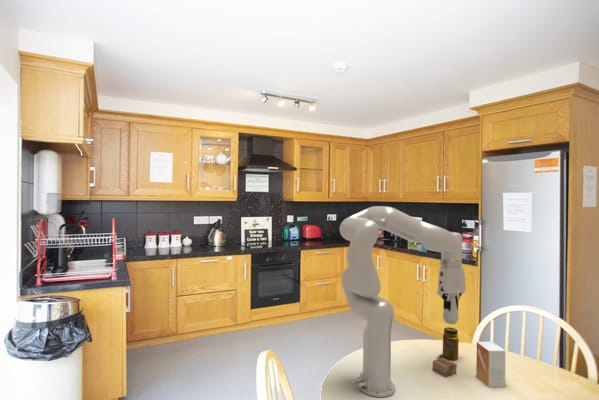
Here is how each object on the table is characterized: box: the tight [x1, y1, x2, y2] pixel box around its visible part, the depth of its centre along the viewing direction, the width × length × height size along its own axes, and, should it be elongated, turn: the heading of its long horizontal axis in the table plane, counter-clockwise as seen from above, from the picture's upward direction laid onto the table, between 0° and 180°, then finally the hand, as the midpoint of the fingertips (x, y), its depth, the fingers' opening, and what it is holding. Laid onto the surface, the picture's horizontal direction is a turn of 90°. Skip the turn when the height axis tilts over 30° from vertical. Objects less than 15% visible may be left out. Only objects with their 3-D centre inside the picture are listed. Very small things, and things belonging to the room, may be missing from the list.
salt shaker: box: [442, 293, 460, 325], centre depth 137 cm, size 6×6×13 cm
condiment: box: [436, 326, 463, 364], centre depth 145 cm, size 7×8×12 cm
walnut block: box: [432, 358, 457, 378], centre depth 133 cm, size 6×6×4 cm
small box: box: [475, 341, 506, 388], centre depth 126 cm, size 8×6×13 cm
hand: (450, 309), depth 137 cm, fingers closed on salt shaker, 3 cm apart
